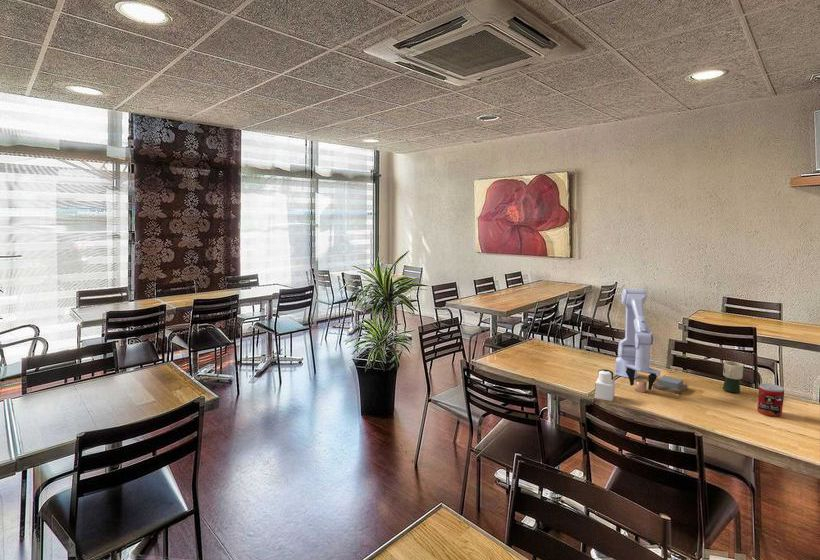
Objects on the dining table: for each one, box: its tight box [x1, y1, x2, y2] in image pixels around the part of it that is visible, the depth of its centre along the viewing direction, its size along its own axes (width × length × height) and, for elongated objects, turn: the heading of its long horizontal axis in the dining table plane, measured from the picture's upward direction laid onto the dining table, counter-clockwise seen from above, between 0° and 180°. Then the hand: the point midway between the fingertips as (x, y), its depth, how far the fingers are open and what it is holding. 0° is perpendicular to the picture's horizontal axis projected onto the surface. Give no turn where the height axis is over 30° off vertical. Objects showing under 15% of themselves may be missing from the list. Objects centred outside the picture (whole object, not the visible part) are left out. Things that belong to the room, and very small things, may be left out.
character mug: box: [722, 360, 744, 393], centre depth 197 cm, size 11×7×13 cm, turn 129°
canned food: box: [756, 383, 785, 418], centre depth 174 cm, size 8×8×11 cm
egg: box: [634, 379, 648, 394], centre depth 199 cm, size 4×4×4 cm
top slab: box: [657, 375, 684, 389], centre depth 201 cm, size 8×8×2 cm
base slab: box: [652, 380, 689, 396], centre depth 202 cm, size 11×11×2 cm
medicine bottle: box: [594, 368, 616, 402], centre depth 192 cm, size 7×7×12 cm
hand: (640, 387), depth 199 cm, fingers open, 7 cm apart
